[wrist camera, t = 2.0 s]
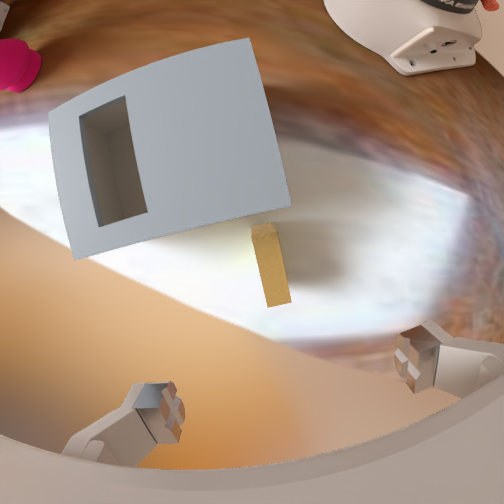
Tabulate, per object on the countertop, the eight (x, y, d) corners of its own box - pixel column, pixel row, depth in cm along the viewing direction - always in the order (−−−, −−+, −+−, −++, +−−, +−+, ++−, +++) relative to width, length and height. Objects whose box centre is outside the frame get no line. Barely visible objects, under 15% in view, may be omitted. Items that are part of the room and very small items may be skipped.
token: (271, 222, 28) (276, 231, 22) (283, 279, 29) (291, 302, 23) (251, 226, 28) (251, 236, 22) (264, 284, 29) (267, 307, 23)
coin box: (249, 85, 25) (248, 37, 15) (277, 200, 27) (292, 205, 18) (103, 130, 26) (48, 112, 16) (126, 237, 28) (74, 260, 18)
